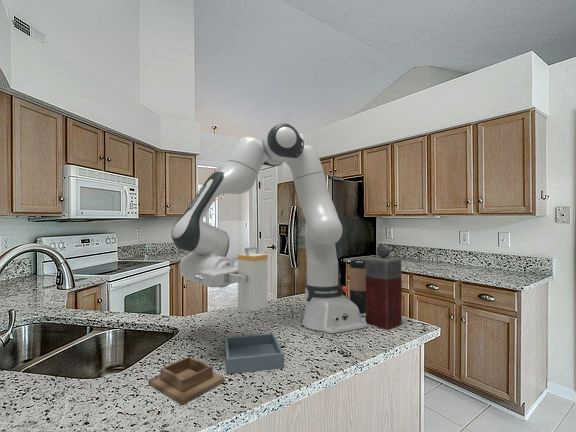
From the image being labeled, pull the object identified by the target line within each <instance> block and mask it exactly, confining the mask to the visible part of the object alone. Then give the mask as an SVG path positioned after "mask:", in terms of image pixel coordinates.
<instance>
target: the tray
mask: <svg viewBox="0 0 576 432" xmlns="http://www.w3.org/2000/svg"><path fill="white" fill-rule="evenodd" d="M224 341H225V342H224V343H225V344H224V345H225V347H224V348H225V350H224V351H225V353H224V354H225V366H226V375H230V374H231V375H233V374H239V373H240V374H242V373H248V372H249V373H250V372H256V371H257V372H258V371H259V372H260V371H267V370H276V369H284V368H285V361H284V358H285V356H284V355H285V353H284V351H283V349H282V347H281V345H280V343H279V342H278V339H277V337H276V334H275V333H263V334H252V335H241V336H239V335H238V336H229V337H227V336H226V337H225V338H224Z"/></svg>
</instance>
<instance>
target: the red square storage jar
mask: <svg viewBox="0 0 576 432" xmlns="http://www.w3.org/2000/svg"><path fill="white" fill-rule="evenodd" d="M376 253H377V256H370V257H367V258H365V260H366V313H365V321H366V322H367V325H370V326H373V327H376V328H379V329H382V330H385V331H389V330H392V329H394V328H397V327H399V326H401V325H402V316H403V315H402V309H403V308H402V302H403V299H402V297H403V294H402V293H403V291H402V290H403V288H402V287H403V286H402V285H403V284H402V283H403V280H402V259H401V258H400V257H393V256H389V255H390V254H391V248H390V246H389V245H387V244H380V245H378V246H377V247H376Z"/></svg>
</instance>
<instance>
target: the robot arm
mask: <svg viewBox="0 0 576 432" xmlns="http://www.w3.org/2000/svg"><path fill="white" fill-rule="evenodd" d="M284 163H285V165H287V166H288V167H289V170H290V171H291V175H292V179H293V183H294V187H295V191H296V195H297V198H298V203H299V204H300V207H301V210H302V214H303V216H304V217H303V218H304V220H305V224H304V241H305V242H304V243H305V255H306V256H305V257H306V258H305V259H306V283H305V289H304V291H305V292H304V294H305V295H304V296H305V297H304V298H305V309H304V315H303V320H302V322H301V323H302V325H303V326H304V327H305V328H307V329H309V330H313V331H320V332H323V333H328V334H337V333H340V332H341V333H342V332H348V331H354V330H358V329H363V328H364V329H365V328H367V327H368V324H367V322H366V319H365V318H363V317H361V313H360V312H359V309H358V307H357V305H356V304H354V303H353V302H352V301H351V300H350V298H348V297H347V296H346V295H345V294H344V293H348V292H349V288H348V287H347V286H345V285H342V284H340V283H339V260H338V257H337V256H338V255H337V249H336V243H338V242H339V240H340V239H341V238H342V235H343V231H344V229H343V225H342V223H341V221H340V218H339V216H338V215H339V214H338V211H337V210H336V206H335V204H334V202H333V200H332V197H331V194H330V190H329V188H328V184H327V179H326V175H325V172H324V168H323V165H322V162H321V159H320V157H319V154H318V152H317V150H316V149H315V147H314V146H312V145H309V144H305V141H304V139H303V138H302V137H301V135H300V133H299V132H298V130H297V129H296V128H295V127H294V126H293V125H291V124H289V123H280V124H277V125H275V126H273V127H272V128H271V129H269V131H268V132H267V133H266V135H265V136H264V137H263V138H262V139H260V138H259V139H258V138H256V137H254V136H243V137H241V138H240V139H239V140H238V142H237V143H236V144H235V146H234V147H233V148H232V151H231V152H230V154H229V156H228V158H227V160H226V163H225V165H224V166H223V167H222V168H221V169H220V170H219V171H214V172H212V173H211V174H210V175H209V177H207V179H206V180H205V182H204V183H203V185H202V186H201V187H200V188H199V191H198V192H197V193H196V195H195V197H194V198H193V200H192V201H191V203H190V205H189V206H188V207H187V208H186V210H185V212H184V213H183V214H182V215H181V217H180V218H178V220H177V221H176V222H175V223H174V225H173V227H172V228H171V229H172V230H171V233H170V234H171V239H172V242H173V244H174V245H175V247H176V248H177V249H178V250H182V251H187V252H190V253H188V254H186V255H184V256H183V257H182V258H181V260H180V262H179V271H180V273H181V274H182V277H184V278H185V279H186V280H188V281H189V282H193V283H197V284H200V285H202V286H205V287H207V288H220V289H222V288H227V287H228V286H229V285H232V284H236V283H237V284H238V282H241V283H245V282H248V275H238V257H227V256H228V253H229V250H230V249H229V248H230V237H229V234H228V233H227V232H226V231H225V230H223V229H220V228H219V227H216V226H215V225H214V226H213V225H211V224H209V223H207V222H205V221H204V217H205V216H206V214H207V213H208V211H209V210H210V208H211V206H212V205H213V203H214V202H215V200H216V199H217V198H218V197H219V196H221V195H225V194H229V195H230V194H231V195H242V194H245V193H247V192H249V191H250V190H251V189H252V188H253V187H254V185H255V183H256V181H257V178H258V175H259V174H260V170H261V168H262V166H268V167H278V166H281V165H282V164H284Z"/></svg>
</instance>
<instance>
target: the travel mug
mask: <svg viewBox="0 0 576 432" xmlns="http://www.w3.org/2000/svg"><path fill="white" fill-rule="evenodd" d="M349 299H350V300H351V301H352V302H353V303H354V304H356V305H357V307H358V309H359V312H360V314H366V259H364V260H363V259H351V260H350V261H349Z"/></svg>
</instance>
